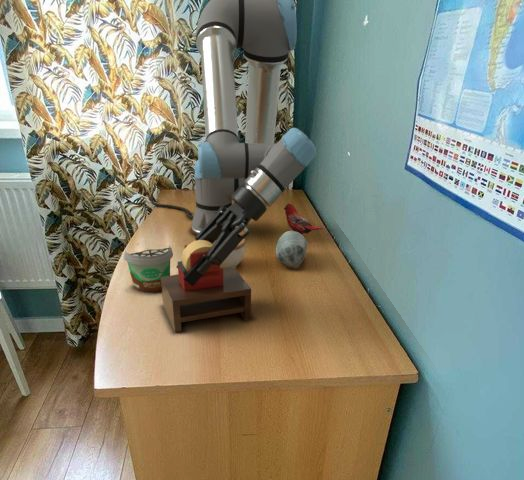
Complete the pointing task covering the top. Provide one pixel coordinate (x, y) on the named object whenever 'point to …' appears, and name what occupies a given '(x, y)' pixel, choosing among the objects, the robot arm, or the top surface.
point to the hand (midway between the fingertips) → (184, 276)
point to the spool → (291, 249)
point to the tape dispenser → (190, 258)
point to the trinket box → (235, 256)
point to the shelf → (206, 299)
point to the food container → (149, 268)
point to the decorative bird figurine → (298, 221)
